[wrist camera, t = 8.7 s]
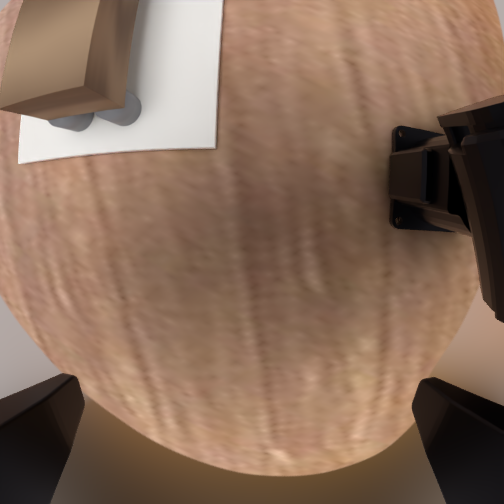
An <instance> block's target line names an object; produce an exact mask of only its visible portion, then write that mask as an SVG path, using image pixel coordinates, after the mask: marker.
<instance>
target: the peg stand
mask: <svg viewBox="0 0 504 504" xmlns="http://www.w3.org/2000/svg"><path fill="white" fill-rule="evenodd" d="M223 5H224V0H139V4H138V9H137V14H136V20H135V26H134V31H133V38H132V44H131V51H130V59H129V67H128V75H127V85H126V95H125V108H120V109H112V110H105V111H98V112H91V113H85V114H79V115H73V116H68V117H63V118H58V119H53V120H48V121H47V120H43V119H39V118H35V117H31V116H26V115H22V114H21V124H20V136H19V154H18V164H28V163H34V162H41V161H47V160H55V159H62V158H70V157H79V156H88V155H98V154H109V153H121V152H135V151H153V150H177V149H216V138H217V109H218V86H219V67H220V49H221V33H222V19H223Z"/></svg>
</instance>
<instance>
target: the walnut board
mask: <svg viewBox="0 0 504 504" xmlns="http://www.w3.org/2000/svg"><path fill="white" fill-rule="evenodd" d="M138 4H139V0H23V3H22V6H21V9H20V12H19V15H18V18H17V21H16V24H15V28H14V31H13V35H12V38H11V42H10V46H9V50H8V54H7V58H6V63H5V68H4V72H3V78H2V83H1V89H0V110H4V111H9V112H13V113H18V114H22V115H26V116H31V117H35V118H39V119H43V120H47V121H48V120H53V119H58V118H63V117H68V116H73V115H79V114H85V113H91V112H98V111H105V110H112V109H120V108H125V95H126V85H127V75H128V67H129V59H130V51H131V44H132V38H133V31H134V26H135V20H136V14H137V9H138Z"/></svg>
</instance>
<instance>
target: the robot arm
mask: <svg viewBox="0 0 504 504" xmlns="http://www.w3.org/2000/svg"><path fill="white" fill-rule="evenodd" d="M437 118H438V121H439V123H440V126H441V127H443V129H444V131H445V134H446V135H443V134H439V133H435V132H430V131H426V130H421V129H416V128H411V127H406V126H397V127H395V128H394V129H393V153H392V154H391V155H390V175H389V195H390V197H391V206H390V224H391V226H392V227H394V228H397V229H410V230H427V231H443V232H458V233H461V234H464V235H467V236H471V237H472V240H473V245H474V250H475V255H476V261H477V267H478V274H479V280H480V288H481V292H482V296H483V300H484V301H485V302H486V303H487V305H488V306H489V307H490V308H491V309H492V310H493V311H494V312H495V318H496V319H497V320H499V321H501V322H503V323H504V95H501V96H497V97H493V98H490V99H487V100H484V101H481V102H478V103H475V104H472V105H469V106H466V107H463V108H460V109H457V110H454V111H451V112H449V113H446V114H443V115H440V116H438V117H437ZM399 130H400V131H401V132H402V133H403V136H402V137H400V135H399ZM397 217H399V219H400V221H399V223H398V224H396V218H397ZM84 406H85V401H84V397H83V394H82V391H81V387H80V384H79V381H78V379H77V377H76V376H74V375H70V374H65V373H62V374H59V375H57V376H55V377H52V378H50V379H48V380H45V381H43V382H41V383H38V384H36V385H34V386H31V387H29V388H27V389H24V390H22V391H19V392H17V393H14V394H12V395H10V396H7V397H5V398H2V399H0V504H50V503H51V500H52V497H53V495H54V492H55V489H56V487H57V484H58V482H59V479H60V477H61V474H62V472H63V469H64V467H65V464H66V462H67V460H68V457H69V455H70V452H71V449H72V446H73V443H74V439H75V436H76V433H77V429H78V426H79V423H80V420H81V417H82V413H83V410H84ZM412 411H413V414H414V417H415V421H416V423H417V427H418V430H419V433H420V436H421V440H422V443H423V446H424V449H425V452H426V455H427V457H428V460H429V462H430V465H431V467H432V469H433V472H434V474H435V477H436V479H437V482H438V484H439V486H440V489H441V492H442V494H443V497H444V499H445V502H446V504H504V406H502V405H500V404H497V403H495V402H492V401H490V400H488V399H485V398H483V397H480V396H478V395H476V394H473V393H471V392H468V391H466V390H464V389H461V388H459V387H457V386H454V385H452V384H450V383H447V382H445V381H443V380H441V379H438V378H436V377H431V378H425V379H422V380H421V381H420V383H419V385H418V388H417V391H416V394H415V397H414V399H413V402H412Z"/></svg>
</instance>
